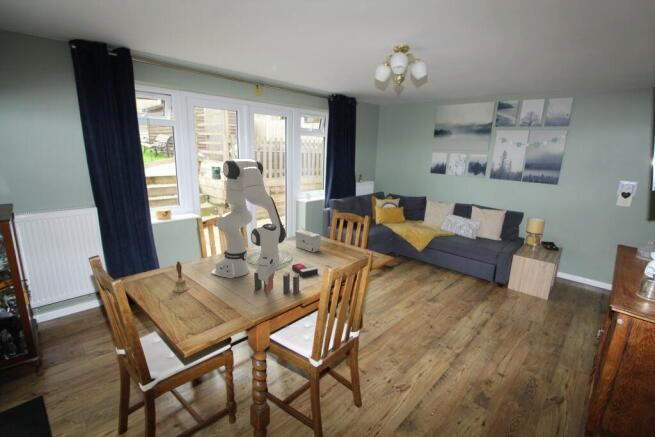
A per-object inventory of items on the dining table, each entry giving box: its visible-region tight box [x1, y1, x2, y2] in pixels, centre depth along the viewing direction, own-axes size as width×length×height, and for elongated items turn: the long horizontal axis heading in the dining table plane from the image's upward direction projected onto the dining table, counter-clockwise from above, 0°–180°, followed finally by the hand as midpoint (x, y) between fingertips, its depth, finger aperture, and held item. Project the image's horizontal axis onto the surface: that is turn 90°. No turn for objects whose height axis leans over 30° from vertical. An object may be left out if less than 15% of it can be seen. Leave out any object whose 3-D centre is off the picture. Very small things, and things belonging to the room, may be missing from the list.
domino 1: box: [253, 269, 263, 291], centre depth 171 cm, size 2×5×10 cm, turn 169°
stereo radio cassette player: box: [294, 227, 322, 253], centre depth 236 cm, size 21×8×20 cm, turn 48°
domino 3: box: [282, 271, 291, 294], centre depth 168 cm, size 2×5×10 cm, turn 169°
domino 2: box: [265, 273, 274, 293], centre depth 159 cm, size 2×5×10 cm, turn 169°
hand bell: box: [172, 260, 191, 293], centre depth 167 cm, size 8×8×16 cm
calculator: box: [291, 261, 319, 278], centre depth 195 cm, size 11×4×15 cm
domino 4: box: [292, 272, 300, 295], centre depth 167 cm, size 2×5×10 cm, turn 169°
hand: (269, 281), depth 159 cm, fingers closed on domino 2, 5 cm apart
